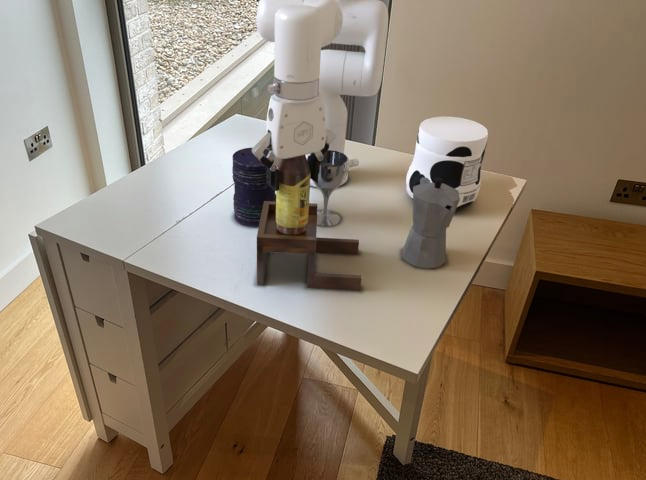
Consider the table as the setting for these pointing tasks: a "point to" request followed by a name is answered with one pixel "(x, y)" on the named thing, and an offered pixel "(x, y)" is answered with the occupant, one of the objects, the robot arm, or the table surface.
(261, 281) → the step rack
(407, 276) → the table surface
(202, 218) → the table surface
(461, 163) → the milk container
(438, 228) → the coffeepot
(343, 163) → the wine glass
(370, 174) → the table surface
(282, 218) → the sauce bottle
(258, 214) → the dark blue cylinder
